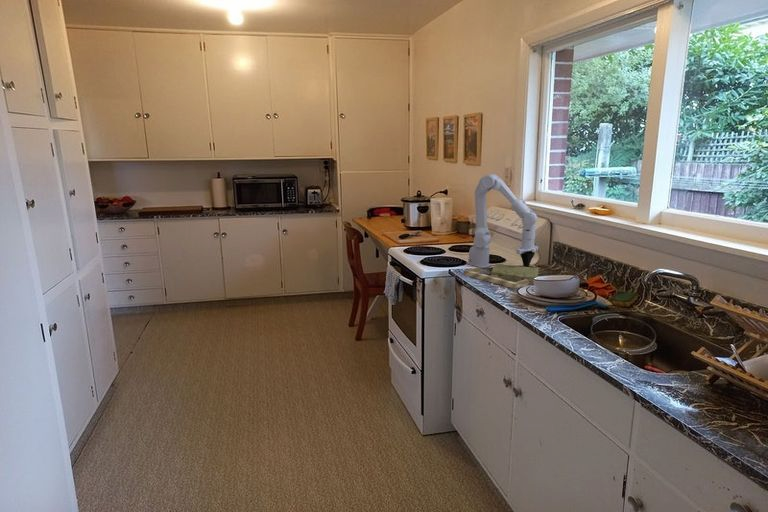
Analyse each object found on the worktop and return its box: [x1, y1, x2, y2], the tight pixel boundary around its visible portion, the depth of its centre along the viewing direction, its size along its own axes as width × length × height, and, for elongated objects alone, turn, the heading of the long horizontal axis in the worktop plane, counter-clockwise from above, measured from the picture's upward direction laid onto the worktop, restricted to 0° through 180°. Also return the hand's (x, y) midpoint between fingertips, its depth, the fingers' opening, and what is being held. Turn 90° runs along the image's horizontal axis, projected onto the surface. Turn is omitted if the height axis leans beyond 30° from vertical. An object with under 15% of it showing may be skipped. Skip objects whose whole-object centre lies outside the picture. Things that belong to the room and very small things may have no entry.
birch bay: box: [463, 266, 530, 290], centre depth 207 cm, size 27×10×2 cm, turn 40°
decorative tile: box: [490, 263, 539, 284], centre depth 213 cm, size 19×20×4 cm
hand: (526, 267), depth 221 cm, fingers closed
